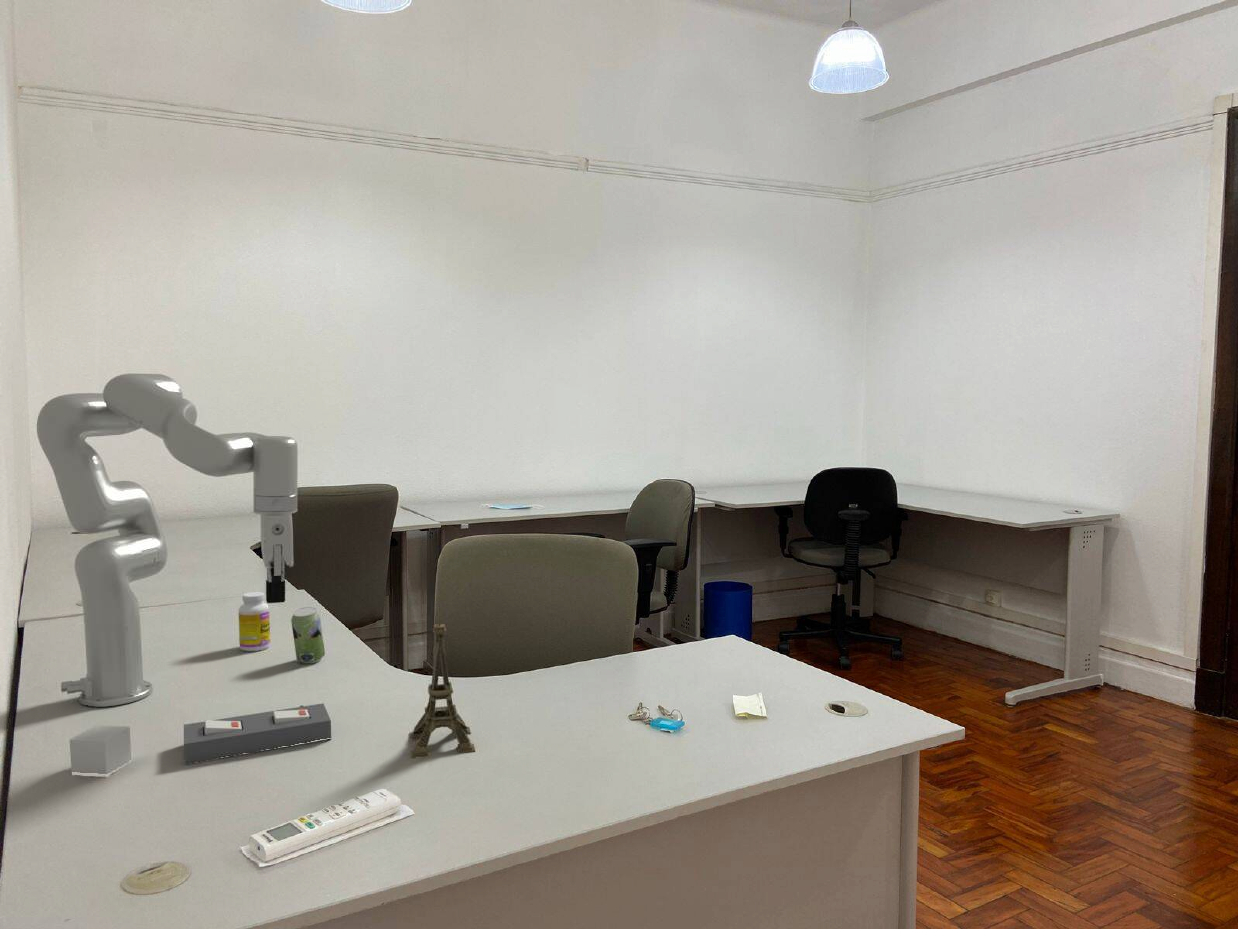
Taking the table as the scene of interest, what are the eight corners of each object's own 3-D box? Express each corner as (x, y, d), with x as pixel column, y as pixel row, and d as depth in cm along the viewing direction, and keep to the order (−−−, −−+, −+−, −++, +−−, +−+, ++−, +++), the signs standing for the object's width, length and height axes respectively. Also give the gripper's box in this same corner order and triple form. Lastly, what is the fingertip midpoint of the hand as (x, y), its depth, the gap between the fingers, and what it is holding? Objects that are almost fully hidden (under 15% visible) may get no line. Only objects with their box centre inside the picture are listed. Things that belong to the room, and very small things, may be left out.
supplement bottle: (263, 652, 203) (261, 597, 201) (234, 652, 203) (232, 597, 201) (275, 643, 209) (273, 590, 208) (247, 643, 209) (245, 590, 208)
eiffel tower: (411, 759, 146) (408, 612, 144) (409, 734, 156) (406, 596, 154) (475, 752, 149) (473, 607, 147) (469, 728, 159) (467, 592, 157)
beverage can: (329, 657, 199) (328, 605, 198) (315, 667, 192) (313, 613, 191) (303, 656, 200) (301, 604, 199) (287, 666, 193) (285, 612, 192)
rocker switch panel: (184, 764, 144) (183, 744, 143) (184, 728, 158) (183, 710, 158) (331, 739, 154) (330, 720, 153) (318, 708, 168) (317, 690, 168)
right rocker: (275, 725, 152) (275, 717, 152) (273, 718, 155) (273, 710, 155) (309, 723, 154) (309, 715, 154) (306, 716, 158) (307, 708, 158)
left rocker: (204, 734, 147) (206, 726, 147) (204, 727, 150) (205, 719, 150) (240, 735, 150) (242, 728, 150) (239, 728, 153) (240, 720, 153)
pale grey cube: (97, 760, 146) (95, 725, 145) (131, 762, 145) (129, 726, 144) (71, 776, 140) (69, 739, 139) (106, 778, 139) (104, 741, 138)
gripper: (301, 509, 156) (301, 610, 158) (293, 497, 169) (293, 590, 171) (255, 511, 153) (256, 614, 155) (251, 498, 166) (251, 593, 168)
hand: (275, 601), depth 163 cm, fingers closed
